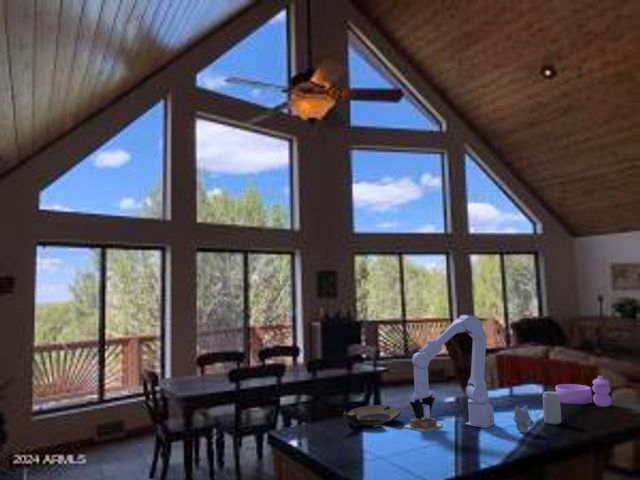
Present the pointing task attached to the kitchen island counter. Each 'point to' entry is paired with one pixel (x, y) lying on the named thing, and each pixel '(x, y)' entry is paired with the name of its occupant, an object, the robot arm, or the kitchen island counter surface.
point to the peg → (425, 413)
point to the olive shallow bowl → (372, 415)
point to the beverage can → (551, 407)
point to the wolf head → (522, 419)
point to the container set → (585, 393)
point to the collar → (423, 425)
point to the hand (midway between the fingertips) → (423, 417)
